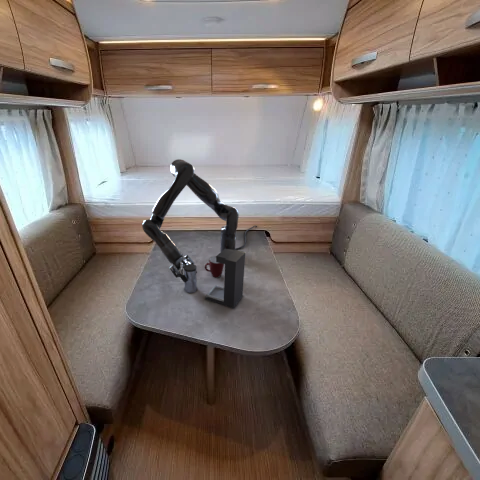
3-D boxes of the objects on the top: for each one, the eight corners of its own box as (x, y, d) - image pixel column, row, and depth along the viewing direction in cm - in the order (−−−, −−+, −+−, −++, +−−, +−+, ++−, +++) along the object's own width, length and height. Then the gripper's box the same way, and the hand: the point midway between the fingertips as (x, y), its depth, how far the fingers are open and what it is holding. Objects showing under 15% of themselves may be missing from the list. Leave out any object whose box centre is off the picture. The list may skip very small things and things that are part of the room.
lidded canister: (186, 285, 139) (186, 263, 134) (198, 286, 137) (197, 264, 132) (182, 291, 133) (182, 269, 128) (194, 293, 132) (194, 270, 127)
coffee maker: (205, 299, 128) (205, 254, 118) (216, 287, 137) (216, 245, 127) (233, 308, 121) (235, 262, 112) (242, 296, 130) (245, 252, 121)
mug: (204, 279, 144) (204, 263, 140) (204, 271, 151) (204, 256, 147) (223, 279, 144) (224, 263, 140) (223, 272, 151) (223, 256, 147)
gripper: (166, 253, 125) (188, 281, 124) (183, 243, 136) (203, 268, 136) (158, 261, 129) (179, 287, 129) (175, 250, 141) (194, 274, 140)
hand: (191, 277), depth 132 cm, fingers open, 8 cm apart
